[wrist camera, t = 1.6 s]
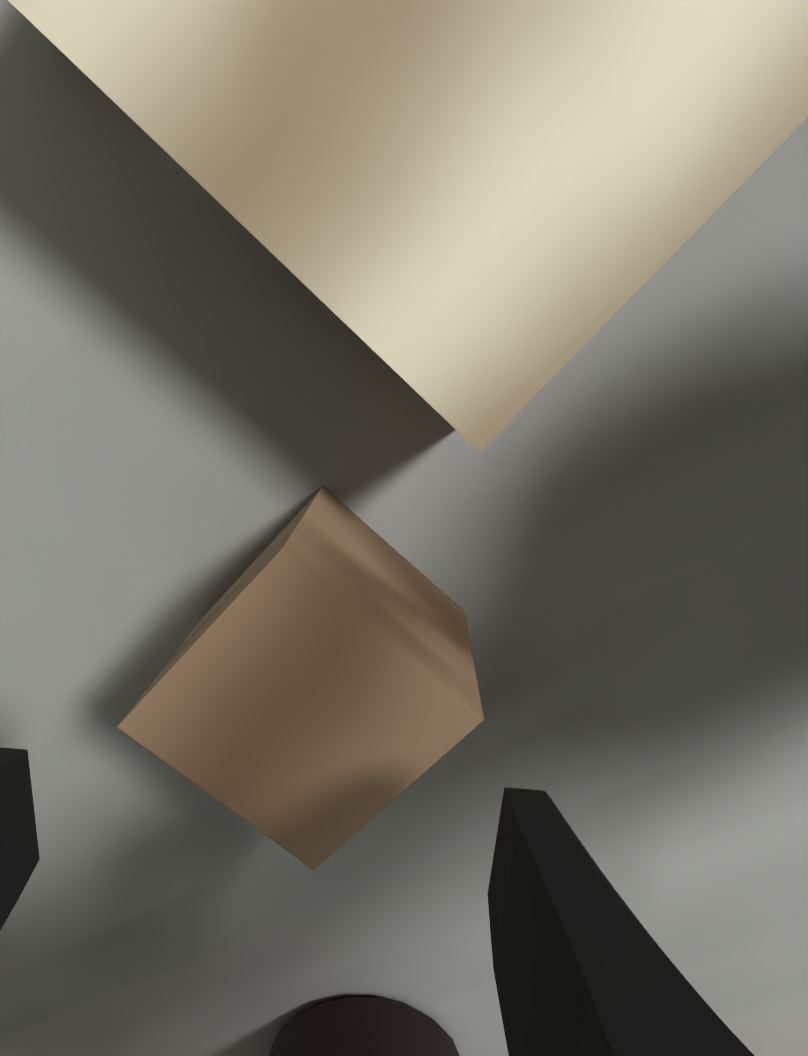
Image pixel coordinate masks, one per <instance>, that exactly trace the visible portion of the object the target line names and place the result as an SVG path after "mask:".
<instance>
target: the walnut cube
mask: <svg viewBox="0 0 808 1056" xmlns="http://www.w3.org/2000/svg"><path fill="white" fill-rule="evenodd" d="M483 720H484V716H483V710H482V705H481V699H480V694H479V689H478V683H477V678H476V673H475V667H474V662H473V656H472V651H471V646H470V640H469V635H468V630H467V624H466V619H465V614H464V610H462V609H461V608H460V607H459V606H458V605H457V604H456V603H455V602H453V601H452V600H451V599H450V598H449V597H448V596H447V595H446V594H444V593H443V592H442V591H441V590H440V589H439V588H438V587H437V586H435V585H434V584H433V583H432V582H431V581H430V580H429V579H427V578H426V577H425V576H424V575H423V574H422V573H421V572H420V571H418V570H417V569H416V568H415V567H414V566H413V565H412V564H411V563H409V562H408V561H407V560H406V559H405V558H404V557H403V556H402V555H400V554H399V553H398V552H397V551H396V550H395V549H394V548H393V547H391V546H390V545H389V544H388V543H387V542H386V541H385V540H383V539H382V538H381V537H380V536H379V535H378V534H377V533H376V532H374V531H373V530H372V529H371V528H370V527H369V526H368V525H367V524H365V523H364V522H363V521H362V520H361V519H360V518H359V517H358V516H356V515H355V514H354V513H353V512H352V511H351V510H350V509H349V508H347V507H346V506H345V505H344V504H343V503H342V502H341V501H340V500H338V499H337V498H336V497H335V496H334V495H333V494H332V493H330V492H329V491H328V490H327V489H326V488H325V487H324V486H322V487H321V488H320V489H319V490H318V492H317V493H316V494H315V495H314V496H313V497H312V498H311V499H310V500H309V501H308V502H307V504H306V505H305V506H304V507H303V508H302V509H301V510H300V511H299V512H298V513H297V514H296V516H295V517H294V518H293V519H292V520H291V521H290V522H289V523H288V524H287V525H286V526H285V528H284V529H283V530H282V531H281V532H280V533H279V534H278V535H277V536H276V537H275V538H274V540H273V541H272V542H271V543H270V544H269V545H268V546H267V547H266V548H265V549H264V550H263V552H262V553H261V554H260V555H259V556H258V557H257V558H256V559H255V560H254V561H253V562H252V564H251V565H250V566H249V567H248V568H247V569H246V570H245V571H244V572H243V573H242V574H241V576H240V577H239V578H238V579H237V580H236V581H235V582H234V583H233V584H232V585H231V586H230V588H229V589H228V590H227V591H226V592H225V593H224V594H223V595H222V596H221V597H220V598H219V600H218V601H217V602H216V603H215V604H214V605H213V606H212V607H211V608H210V609H209V610H208V612H207V613H206V614H205V615H204V616H203V617H202V618H201V620H200V621H199V622H198V623H197V625H196V626H195V627H194V629H193V630H192V631H191V632H190V634H189V635H188V636H187V638H186V639H185V640H184V641H183V643H182V644H181V645H180V647H179V648H178V649H177V650H176V652H175V653H174V654H173V656H172V657H171V658H170V659H169V661H168V662H167V663H166V665H165V666H164V667H163V668H162V670H161V671H160V672H159V674H158V675H157V676H156V677H155V679H154V680H153V681H152V683H151V684H150V685H149V686H148V688H147V689H146V690H145V692H144V693H143V694H142V695H141V697H140V698H139V699H138V701H137V702H136V703H135V704H134V706H133V707H132V708H131V710H130V711H129V712H128V714H127V715H126V716H125V717H124V719H123V720H122V721H121V723H120V724H119V725H118V726H117V727H118V728H119V729H120V730H122V731H123V732H124V733H126V734H127V735H129V736H130V737H131V738H133V739H134V740H135V741H137V742H138V743H140V744H141V745H142V746H144V747H145V748H146V749H148V750H149V751H151V752H152V753H153V754H155V755H156V756H157V757H159V758H160V759H162V760H163V761H164V762H166V763H167V764H168V765H170V766H171V767H173V768H174V769H175V770H177V771H178V772H179V773H181V774H182V775H184V776H185V777H186V778H188V779H189V780H190V781H192V782H193V783H195V784H196V785H197V786H199V787H200V788H201V789H203V790H204V791H206V792H207V793H208V794H210V795H211V796H212V797H214V798H215V799H217V800H218V801H219V802H221V803H222V804H223V805H225V806H226V807H228V808H229V809H230V810H232V811H233V812H234V813H236V814H237V815H239V816H240V817H241V818H243V819H244V820H245V821H247V822H248V823H250V824H251V825H252V826H254V827H255V828H256V829H258V830H259V831H261V832H262V833H263V834H265V835H266V836H267V837H269V838H270V839H272V840H273V841H274V842H276V843H277V844H278V845H280V846H281V847H283V848H284V849H285V850H287V851H288V852H289V853H291V854H292V855H294V856H295V857H296V858H298V859H299V860H300V861H302V862H303V863H305V864H306V865H307V866H309V867H310V868H311V869H313V870H314V869H315V868H316V867H317V866H319V865H320V864H321V863H322V862H323V861H324V860H325V859H327V858H328V857H329V856H330V855H331V854H332V853H333V852H334V851H336V850H337V849H338V848H339V847H340V846H341V845H342V844H344V843H345V842H346V841H347V840H348V839H349V838H350V837H352V836H353V835H354V834H355V833H356V832H357V831H358V830H359V829H361V828H362V827H363V826H364V825H365V824H366V823H367V822H369V821H370V820H371V819H372V818H373V817H374V816H375V815H377V814H378V813H379V812H380V811H381V810H382V809H383V808H384V807H386V806H387V805H388V804H389V803H390V802H391V801H392V800H394V799H395V798H396V797H397V796H398V795H399V794H400V793H402V792H403V791H404V790H405V789H406V788H407V787H408V786H410V785H411V784H412V783H413V782H414V781H415V780H416V779H417V778H419V777H420V776H421V775H422V774H423V773H424V772H425V771H427V770H428V769H429V768H430V767H431V766H432V765H433V764H435V763H436V762H437V761H438V760H439V759H440V758H441V757H442V756H444V755H445V754H446V753H447V752H448V751H449V750H450V749H452V748H453V747H454V746H455V745H456V744H457V743H458V742H460V741H461V740H462V739H463V738H464V737H465V736H466V735H467V734H469V733H470V732H471V731H472V730H473V729H474V728H475V727H477V726H478V725H479V724H480V723H481V722H482V721H483Z"/></svg>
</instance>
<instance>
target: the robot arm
mask: <svg viewBox="0 0 808 1056" xmlns="http://www.w3.org/2000/svg"><path fill="white" fill-rule="evenodd" d="M38 861H39V851H38V842H37V833H36V824H35V815H34V806H33V797H32V787H31V778H30V769H29V760H28V751H27V750H24V749H12V748H0V930H1V928H2V926H3V925H4V923H5V921H6V919H7V918H8V916H9V914H10V912H11V911H12V909H13V907H14V905H15V904H16V902H17V900H18V898H19V897H20V895H21V893H22V891H23V889H24V887H25V885H26V883H27V882H28V880H29V878H30V876H31V874H32V872H33V870H34V868H35V867H36V865H37V863H38ZM488 904H489V917H490V931H491V943H492V954H493V966H494V974H495V980H496V985H497V991H498V997H499V1003H500V1008H501V1014H502V1020H503V1025H504V1031H505V1037H506V1042H507V1048H508V1053H509V1056H754V1055H753V1054H752V1053H751V1052H750V1051H749V1050H748V1049H747V1047H746V1046H745V1045H744V1044H743V1043H742V1042H741V1041H740V1040H739V1039H738V1038H737V1037H736V1036H735V1035H734V1034H733V1033H732V1031H731V1030H730V1029H729V1028H728V1027H727V1026H726V1025H725V1024H724V1023H723V1021H722V1020H721V1019H720V1018H719V1017H718V1016H717V1015H716V1014H715V1013H714V1011H713V1010H712V1009H711V1008H710V1007H709V1006H708V1004H707V1003H706V1002H705V1001H704V1000H703V999H702V998H701V996H700V995H699V994H698V993H697V992H696V991H695V989H694V988H693V987H692V986H691V985H690V983H689V982H688V981H687V980H686V979H685V977H684V976H683V975H682V974H681V973H680V971H679V970H678V969H677V968H676V967H675V965H674V964H673V963H672V962H671V961H670V959H669V958H668V957H667V956H666V955H665V953H664V952H663V951H662V950H661V948H660V947H659V946H658V945H657V943H656V942H655V941H654V940H653V938H652V937H651V936H650V935H649V933H648V932H647V931H646V930H645V928H644V927H643V926H642V924H641V923H640V922H639V920H638V919H637V918H636V917H635V915H634V914H633V913H632V911H631V910H630V909H629V907H628V906H627V905H626V903H625V902H624V901H623V899H622V898H621V897H620V896H619V894H618V893H617V892H616V890H615V889H614V888H613V886H612V885H611V884H610V882H609V881H608V880H607V878H606V877H605V875H604V874H603V873H602V871H601V870H600V869H599V867H598V866H597V864H596V863H595V862H594V860H593V859H592V857H591V856H590V855H589V853H588V852H587V850H586V849H585V847H584V846H583V845H582V843H581V842H580V840H579V839H578V837H577V836H576V835H575V833H574V832H573V830H572V829H571V827H570V826H569V824H568V823H567V821H566V820H565V819H564V817H563V816H562V814H561V813H560V811H559V810H558V808H557V807H556V805H555V804H554V802H553V801H552V799H551V798H550V797H549V796H548V794H547V793H546V792H545V791H541V790H529V789H516V788H504V794H503V800H502V806H501V813H500V819H499V826H498V832H497V838H496V845H495V851H494V857H493V864H492V870H491V877H490V883H489V889H488Z"/></svg>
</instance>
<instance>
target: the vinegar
mask: <svg viewBox="0 0 808 1056" xmlns="http://www.w3.org/2000/svg"><path fill="white" fill-rule="evenodd" d="M269 1056H459V1053H458V1051H457V1049H456V1046H455V1044H454V1041H453V1039H452V1038H451V1037H450V1036H449V1035H448V1034H447V1033H446V1032H445V1031H444V1030H443V1029H442V1028H441V1027H440V1026H439V1025H438V1024H437V1023H436V1021H435V1020H433V1019H432V1018H430V1017H429V1016H427V1015H425V1014H423V1013H421V1012H419V1011H418V1010H416V1009H414V1008H412V1007H410V1006H409V1005H406V1004H402V1003H398V1002H395V1001H391V1000H387V999H383V998H378V997H347V998H343V999H338V1000H334V1001H329V1002H325V1003H321V1004H319V1005H317V1006H316V1007H314V1008H312V1009H310V1010H308V1011H306V1012H304V1013H302V1014H300V1015H299V1016H297V1017H295V1018H294V1019H293V1020H292V1021H291V1022H290V1023H289V1024H288V1025H287V1026H286V1027H285V1028H284V1029H283V1030H282V1031H281V1032H280V1033H279V1034H278V1036H277V1037H276V1039H275V1041H274V1044H273V1046H272V1049H271V1052H270V1055H269Z"/></svg>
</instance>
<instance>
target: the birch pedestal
mask: <svg viewBox="0 0 808 1056" xmlns="http://www.w3.org/2000/svg"><path fill="white" fill-rule="evenodd" d="M8 1H9V2H10V3H11V4H12V5H13V6H14V7H15V8H16V9H17V10H19V11H20V12H21V13H22V14H23V15H24V16H25V17H26V18H27V19H28V20H29V21H30V22H31V23H32V24H33V25H34V26H35V27H36V28H37V29H38V30H39V31H40V32H41V33H42V34H44V35H45V36H46V37H47V38H48V39H49V40H50V41H51V42H52V43H53V44H54V45H55V46H56V47H57V48H58V49H59V50H60V51H61V52H62V53H63V54H64V55H65V56H66V57H68V58H69V59H70V60H71V61H72V62H73V63H74V64H75V65H76V66H77V67H78V68H79V69H80V70H81V71H82V72H83V73H84V74H85V75H86V76H87V77H88V78H89V79H90V80H92V81H93V82H94V83H95V84H96V85H97V86H98V87H99V88H100V89H101V90H102V91H103V92H104V93H105V94H106V95H107V96H108V97H109V98H110V99H111V100H112V101H113V102H114V103H116V104H117V105H118V106H119V107H120V108H121V109H122V110H123V111H124V112H125V113H126V114H127V115H128V116H129V117H130V118H131V119H132V120H133V121H134V122H135V123H136V124H137V125H138V126H140V127H141V128H142V129H143V130H144V131H145V132H146V133H147V134H148V135H149V136H150V137H151V138H152V139H153V140H154V141H155V142H156V143H157V144H158V145H159V146H160V147H161V148H162V149H164V150H165V151H166V152H167V153H168V154H169V155H170V156H171V157H172V158H173V159H174V160H175V161H176V162H177V163H178V164H179V165H180V166H181V167H182V168H183V169H184V170H185V171H186V172H188V173H189V174H190V175H191V176H192V177H193V178H194V179H195V180H196V181H197V182H198V183H199V184H200V185H201V186H202V187H203V188H204V189H205V190H206V191H207V192H208V193H209V194H210V195H212V196H213V197H214V198H215V199H216V200H217V201H218V202H219V203H220V204H221V205H222V206H223V207H224V208H225V209H226V210H227V211H228V212H229V213H230V214H231V215H232V216H233V217H234V218H236V219H237V220H238V221H239V222H240V223H241V224H242V225H243V226H244V227H245V228H246V229H247V230H248V231H249V232H250V233H251V234H252V235H253V236H254V237H255V238H256V239H257V240H258V241H260V242H261V243H262V244H263V245H264V246H265V247H266V248H267V249H268V250H269V251H270V252H271V253H272V254H273V255H274V256H275V257H276V258H277V259H278V260H279V261H280V262H281V263H282V264H284V265H285V266H286V267H287V268H288V269H289V270H290V271H291V272H292V273H293V274H294V275H295V276H296V277H297V278H298V279H299V280H300V281H301V282H302V283H303V284H304V285H305V286H306V287H308V288H309V289H310V290H311V291H312V292H313V293H314V294H315V295H316V296H317V297H318V298H319V299H320V300H321V301H322V302H323V303H324V304H325V305H326V306H327V307H328V308H329V309H330V310H332V311H333V312H334V313H335V314H336V315H337V316H338V317H339V318H340V319H341V320H342V321H343V322H344V323H345V324H346V325H347V326H348V327H349V328H350V329H351V330H352V331H353V332H354V333H356V334H357V335H358V336H359V337H360V338H361V339H362V340H363V341H364V342H365V343H366V344H367V345H368V346H369V347H370V348H371V349H372V350H373V351H374V352H375V353H376V354H377V355H378V356H379V357H381V358H382V359H383V360H384V361H385V362H386V363H387V364H388V365H389V366H390V367H391V368H392V369H393V370H394V371H395V372H396V373H397V374H398V375H399V376H400V377H401V378H402V379H403V380H405V381H406V382H407V383H408V384H409V385H410V386H411V387H412V388H413V389H414V390H415V391H416V392H417V393H418V394H419V395H420V396H421V397H422V398H423V399H424V400H425V401H426V402H427V403H429V404H430V405H431V406H432V407H433V408H434V409H435V410H436V411H437V412H438V413H439V414H440V415H441V416H442V417H443V418H444V419H445V420H446V421H447V422H448V423H449V424H450V425H451V426H453V427H454V428H455V429H456V430H457V431H458V432H459V433H460V434H461V435H462V436H463V437H464V438H465V439H466V440H467V441H468V442H469V443H470V444H471V445H472V446H473V447H474V448H475V449H477V450H478V451H479V452H481V451H482V450H483V449H484V447H485V446H486V445H487V444H488V443H489V442H490V441H491V440H492V439H493V438H494V437H495V436H496V435H497V434H498V433H499V432H500V431H501V430H502V429H503V428H504V427H505V426H506V425H507V424H508V423H509V422H510V421H511V420H512V419H513V418H514V417H515V416H516V415H517V414H518V413H519V412H520V411H521V410H522V409H523V408H524V407H525V406H526V405H527V404H528V402H529V401H530V400H531V399H532V398H533V397H534V396H535V395H536V394H537V393H538V392H539V391H540V390H541V389H542V388H543V387H544V386H545V385H546V384H547V383H548V382H549V381H550V380H551V379H552V378H553V377H554V376H555V375H556V374H557V373H558V372H559V371H560V370H561V369H562V368H563V367H564V366H565V365H566V364H567V363H568V362H569V361H570V360H571V359H572V357H573V356H574V355H575V354H576V353H577V352H578V351H579V350H580V349H581V348H582V347H583V346H584V345H585V344H586V343H587V342H588V341H589V340H590V339H591V338H592V337H593V336H594V335H595V334H596V333H597V332H598V331H599V330H600V329H601V328H602V327H603V326H604V325H605V324H606V323H607V322H608V321H609V320H610V319H611V318H612V317H613V316H614V315H615V314H616V312H617V311H618V310H619V309H620V308H621V307H622V306H623V305H624V304H625V303H626V302H627V301H628V300H629V299H630V298H631V297H632V296H633V295H634V294H635V293H636V292H637V291H638V290H639V289H640V288H641V287H642V286H643V285H644V284H645V283H646V282H647V281H648V280H649V279H650V278H651V277H652V276H653V275H654V274H655V273H656V272H657V271H658V270H659V269H660V267H661V266H662V265H663V264H664V263H665V262H666V261H667V260H668V259H669V258H670V257H671V256H672V255H673V254H674V253H675V252H676V251H677V250H678V249H679V248H680V247H681V246H682V245H683V244H684V243H685V242H686V241H687V240H688V239H689V238H690V237H691V236H692V235H693V234H694V233H695V232H696V231H697V230H698V229H699V228H700V227H701V226H702V225H703V224H704V222H705V221H706V220H707V219H708V218H709V217H710V216H711V215H712V214H713V213H714V212H715V211H716V210H717V209H718V208H719V207H720V206H721V205H722V204H723V203H724V202H725V201H726V200H727V199H728V198H729V197H730V196H731V195H732V194H733V193H734V192H735V191H736V190H737V189H738V188H739V187H740V186H741V185H742V184H743V183H744V182H745V181H746V180H747V179H748V177H749V176H750V175H751V174H752V173H753V172H754V171H755V170H756V169H757V168H758V167H759V166H760V165H761V164H762V163H763V162H764V161H765V160H766V159H767V158H768V157H769V156H770V155H771V154H772V153H773V152H774V151H775V150H776V149H777V148H778V147H779V146H780V145H781V144H782V143H783V142H784V141H785V140H786V139H787V138H788V137H789V136H790V135H791V133H792V132H793V131H794V130H795V129H796V128H797V127H798V126H799V125H800V124H801V123H802V122H803V121H804V120H805V119H806V118H807V117H808V0H8Z"/></svg>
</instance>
